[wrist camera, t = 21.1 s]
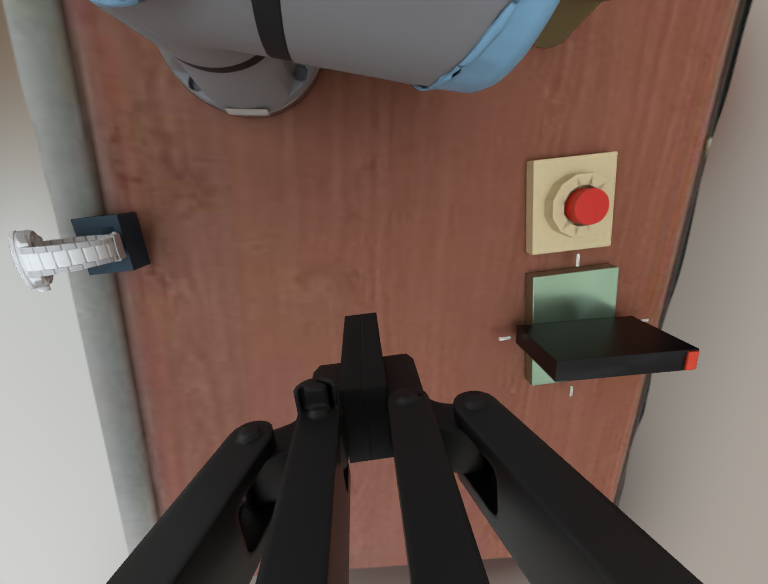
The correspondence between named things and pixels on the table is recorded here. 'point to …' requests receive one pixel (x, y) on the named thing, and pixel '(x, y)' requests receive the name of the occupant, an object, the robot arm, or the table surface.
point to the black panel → (604, 348)
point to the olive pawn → (565, 21)
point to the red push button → (587, 206)
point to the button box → (549, 196)
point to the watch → (80, 249)
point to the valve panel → (568, 302)
